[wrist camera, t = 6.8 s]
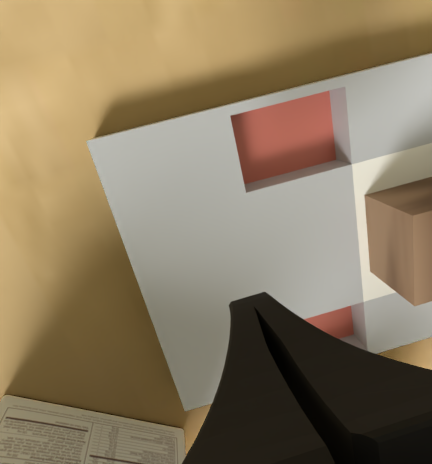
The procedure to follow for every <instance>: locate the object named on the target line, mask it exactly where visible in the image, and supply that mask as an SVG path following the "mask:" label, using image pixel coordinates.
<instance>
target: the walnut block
mask: <svg viewBox="0 0 432 464" xmlns="http://www.w3.org/2000/svg"><path fill="white" fill-rule="evenodd" d="M364 196H365V209H366V223H367V237H368V250H369V264H370V272H371V273H373V274H374V275H375V276H376V277H378V278H379V279H380V280H382V281H383V282H384V283H385V284H387V285H388V286H389V287H390V288H392V289H393V290H394V291H396V292H397V293H398V294H399V295H401V296H402V297H403V298H404V299H406V300H407V301H408V302H410V303H411V304H412V305H413V306H418V305H421V304H424V303H428V302H431V301H432V177H428V178H425V179H421V180H418V181H414V182H410V183H407V184H403V185H399V186H396V187H392V188H388V189H385V190H381V191H378V192H374V193H370V194H367V195H364Z"/></svg>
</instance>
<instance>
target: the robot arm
mask: <svg viewBox="0 0 432 464" xmlns="http://www.w3.org/2000/svg"><path fill="white" fill-rule="evenodd" d="M229 309H230V318H231V320H230V335H229V344H228V349H227V355H226V360H225V364H224V368H223V372H222V376H221V379H220V383H219V386H218V389H217V391H216V394H215V397H214V400H213V402H212V405H211V407H210V410H209V412H208V414H207V417H206V419H205V421H204V423H203V425H202V427H201V429H200V431H199V433H198V436H197V438H196V439H195V441H194V443H193V445H192V447H191V448H190V450H189V452H188V454H187V455H186V457H185V459H184V460H183V462H182V464H432V370H430V369H425V368H421V367H417V366H414V365H410V364H406V363H403V362H399V361H396V360H392V359H389V358H386V357H383V356H380V355H377V354H375V353H372V352H369V351H366V350H364V349H361V348H358V347H356V346H353V345H351V344H349V343H347V342H344V341H342V340H340V339H338V338H336V337H334V336H332V335H330V334H328V333H326V332H324V331H322V330H321V329H319V328H317V327H315V326H314V325H312V324H310V323H309V322H307V321H305V320H304V319H302V318H301V317H299V316H298V315H296V314H295V313H293V312H292V311H290V310H289V309H288V308H286V307H285V306H283V305H282V304H281V303H279V302H278V301H277V300H276V299H274V298H273V297H272V296H271V295H269V294H268V293H266V292H262V293H258V294H255V295H252V296H248V297H245V298H241V299H238V300H235V301H231V302H230V304H229Z"/></svg>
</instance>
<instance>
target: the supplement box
mask: <svg viewBox="0 0 432 464" xmlns="http://www.w3.org/2000/svg"><path fill="white" fill-rule="evenodd" d="M185 457H186V451H185V434H184V430H183V429H181V428H176V427H171V426H166V425H161V424H155V423H150V422H145V421H140V420H135V419H130V418H125V417H119V416H114V415H109V414H104V413H99V412H94V411H89V410H84V409H79V408H73V407H68V406H63V405H58V404H53V403H47V402H42V401H37V400H32V399H26V398H21V397H16V396H12V395H4V396H3V397H2V399H1V401H0V464H182V462H183V460H184V459H185Z"/></svg>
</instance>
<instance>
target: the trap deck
mask: <svg viewBox="0 0 432 464" xmlns="http://www.w3.org/2000/svg"><path fill="white" fill-rule="evenodd" d="M86 142H87V145H88V148H89V151H90V153H91V156H92V159H93V161H94V164H95V167H96V170H97V172H98V175H99V178H100V181H101V183H102V186H103V189H104V192H105V194H106V197H107V200H108V203H109V205H110V208H111V211H112V213H113V216H114V219H115V222H116V224H117V227H118V230H119V233H120V235H121V238H122V241H123V244H124V246H125V249H126V252H127V255H128V257H129V260H130V263H131V265H132V268H133V271H134V274H135V276H136V279H137V282H138V285H139V287H140V290H141V293H142V296H143V298H144V301H145V304H146V307H147V309H148V312H149V315H150V317H151V320H152V323H153V326H154V328H155V331H156V334H157V337H158V339H159V342H160V345H161V348H162V350H163V353H164V356H165V359H166V361H167V364H168V367H169V369H170V372H171V375H172V378H173V380H174V383H175V386H176V389H177V391H178V394H179V397H180V400H181V402H182V405H183V408H184V411H189V410H192V409H195V408H199V407H202V406H205V405H209V404H212V402H213V400H214V397H215V394H216V391H217V389H218V386H219V383H220V379H221V376H222V372H223V368H224V364H225V360H226V355H227V349H228V344H229V335H230V320H231V318H230V309H229V304H230V302H231V301H235V300H238V299H241V298H245V297H248V296H252V295H255V294H258V293H262V292H266V293H268V294H269V295H271V296H272V297H273V298H274V299H276V300H277V301H278V302H279V303H281V304H282V305H283V306H285V307H286V308H288V309H289V310H290V311H292V312H293V313H295V314H296V315H298V316H299V317H301V318H302V319H304V320H305V321H307V322H309V323H310V324H312V325H314V326H315V327H317V328H319V329H321V330H322V331H324V332H326V333H328V334H330V335H332V336H334V337H336V338H338V339H340V340H342V341H344V342H347V343H349V344H351V345H353V346H356V347H358V348H361V349H364V350H366V351H369V352H372V353H375V354H377V353H380V352H384V351H387V350H390V349H394V348H397V347H400V346H404V345H407V344H410V343H414V342H417V341H420V340H423V339H427V338H430V337H432V301H431V302H428V303H424V304H421V305H418V306H413V305H412V304H411V303H410V302H408V301H407V300H406V299H404V298H403V297H402V296H401V295H399V294H398V293H397V292H396V291H394V290H393V289H392V288H390V287H389V286H388V285H387V284H385V283H384V282H383V281H382V280H380V279H379V278H378V277H376V276H375V275H374V274H373V273H371V272H370V264H369V250H368V237H367V223H366V209H365V196H364V195H367V194H370V193H374V192H378V191H381V190H385V189H388V188H392V187H396V186H399V185H403V184H407V183H410V182H414V181H418V180H421V179H425V178H428V177H432V52H431V53H427V54H423V55H419V56H415V57H411V58H407V59H403V60H399V61H395V62H391V63H387V64H383V65H379V66H375V67H371V68H368V69H364V70H360V71H356V72H352V73H348V74H344V75H340V76H336V77H332V78H328V79H324V80H320V81H316V82H312V83H308V84H304V85H300V86H297V87H293V88H289V89H285V90H281V91H277V92H273V93H269V94H265V95H261V96H257V97H253V98H249V99H245V100H241V101H237V102H233V103H229V104H225V105H222V106H218V107H214V108H210V109H206V110H202V111H198V112H194V113H190V114H186V115H182V116H178V117H174V118H170V119H166V120H162V121H158V122H154V123H151V124H147V125H143V126H139V127H135V128H131V129H127V130H123V131H119V132H115V133H111V134H107V135H103V136H99V137H95V138H92V139H90V140H88V141H86Z"/></svg>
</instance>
